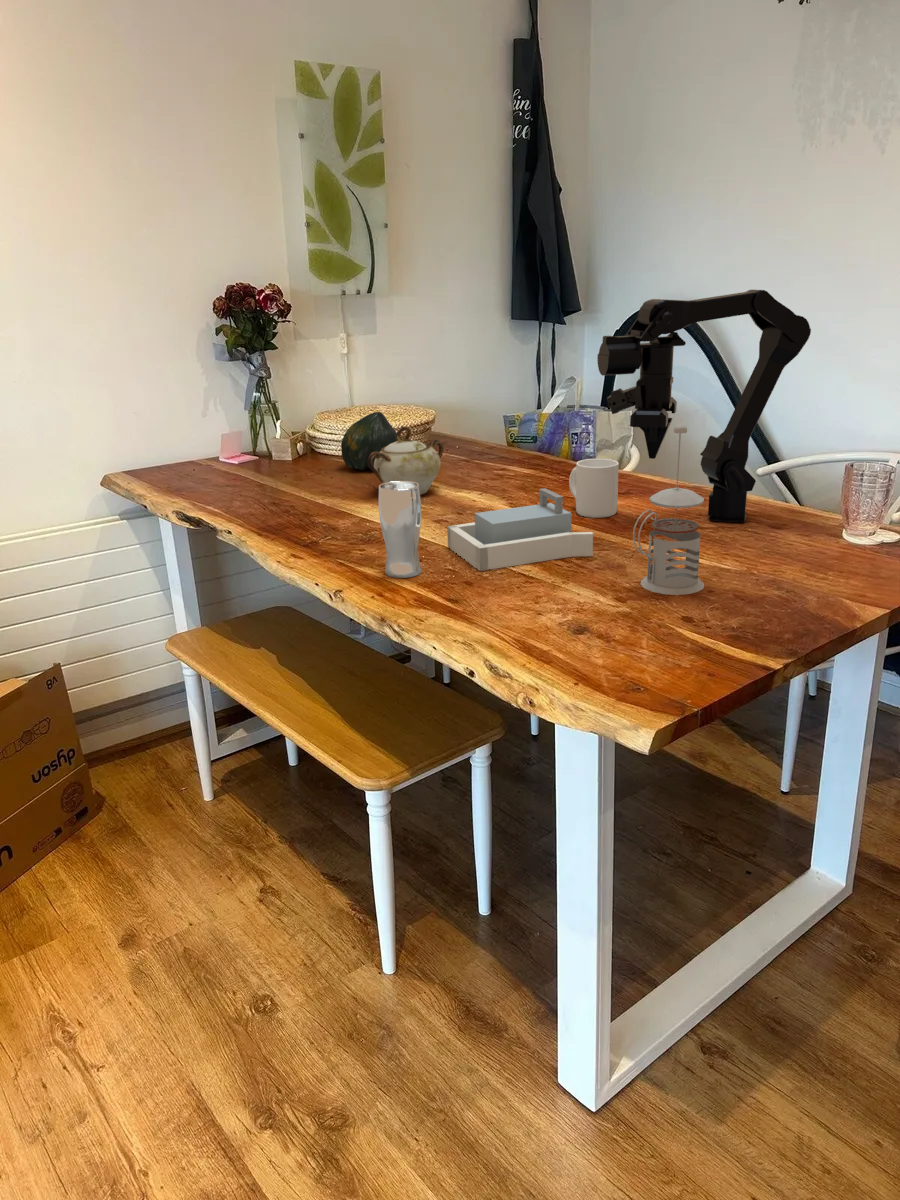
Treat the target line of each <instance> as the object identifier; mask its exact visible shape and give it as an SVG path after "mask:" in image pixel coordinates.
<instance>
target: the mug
mask: <svg viewBox="0 0 900 1200" xmlns="http://www.w3.org/2000/svg"><path fill="white" fill-rule="evenodd" d="M568 485H569V490H570V494H571V495H572V497H574V499H575V510H576V513H577V514H578V516H581V517H583V516H584V518H590V519H603V518H608V517H612V516H614V515H616V514H617V511H618V498H619V497H618V496H619V495H618V492H619V462H618V461H617V460H614V459H609V458H586V459H582V460H578V461H577V462H576V466H575V467H573V469H572V470H571V472H570V475H569V478H568Z"/></svg>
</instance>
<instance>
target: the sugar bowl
mask: <svg viewBox="0 0 900 1200" xmlns="http://www.w3.org/2000/svg"><path fill="white" fill-rule="evenodd" d="M404 431H406V435H404V436H403V437H402V436H401V434H402V432H404ZM396 433H397V438H398V440H397V441H396V442H394V443H391V444H389V445H388V446H386V447H384V448H382V449H381V451H380V452H376V451H375V452H372V453H371V454H370V455H369V457H368V465H369V467H368V469H369V470H371V472H372V473H374V475H375V476H376V477H377V478H378V481H380V482H381V484H382V483H386V482H391V481H412V482H416V483H418V484H419V492H420V496H422V495H424V494H426V493H428V492H429V489H430V487H431V485H432V484H433V482H434V481H435V479H436V477H437V476H438V474H439V471H440V469H441V464H442V463H441V458H442V457H443V454H444V445H443V443H442V442H441V441H440V440H438V439H434V440H430V441H428V442H426V443H424V442H421V441H418V440H413V439H412V440H411V439H410V437H412V431H411V429H410V428H409V427H407V426H401V427H400V428H399V429H398V430H397V431H396ZM436 445H437V446H438V452H437V448H436V447H435V446H436ZM375 457H376V458H375ZM374 458H375V461H374V466H373V459H374Z"/></svg>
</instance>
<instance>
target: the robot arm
mask: <svg viewBox="0 0 900 1200" xmlns="http://www.w3.org/2000/svg"><path fill="white" fill-rule="evenodd" d="M743 315H749V317H750V318H751V320H752V321H753V323H754V325H755V326H756V327H757V328H759V330H761V336H760V339H759V343H758V344H759V346H758V348H759V349H758V359H757V362H756V363H755V366H754V368H753V370H752V372H751V374H750V377H749V378H748V381H747V383H746V385H745V387H744V389H743V392H742V393H741V395H740V398H739V400H738V401H737V404H736V405H735V409H734V410H733V412H732V414H731V417H730V419H729V421H728V422H727V425H726V427H725V429H724V431H723V432H721V433H720V434H719V435H718V436H717V437H716V436H713V435H710V436H709V437H708V439H707V442H706V445H705V447H704V448H703V451H701V452H700V454H699V455H700V456H702V457H701V459H700V460H701V461H700V467H701V469H702V472H703V473H704V475H706V476H707V480H708V482H709V484H711V485H713V487H712V491H710V493H709V496H708V506H707V507H708V510H707V516H708V517H709V521H710V522H724V523H743V524H744V523H745V522H746V517H747V512H746V508H747V500H748V499H747V498H748V497H747V496H748V492H752V491H753V490H754V487H755V485H756V482H757V481H756V479H755V478H754V477H753V476H752V474H750V473H749V472H748V470H746V464H747V462H748V459H749V448H750V447H749V442H750V438H751V437H752V434H753V432H754V430H755V428H756V426H757V424H758V422H759V419H760V417H761V415H762V414H763V412H764V409H765V407H766V406H767V403H768V402H769V399H770V397H771V395H772V394H773V391H774V389H775V386H776V384H777V382H778V381H779V378H780V376H781V375H782V372H783V370H784V369H785V368H786V367H787V365H789V363H791V362H792V361H793V360H794V359H795V358H796V357H797V356H798V355H799V354H800V352H802V349H803V348H804V346H805V345H806V343H808V341H809V339H810V337H811V333H812V329H811V327H810V323H809V321H808V319H807V318H805V317H804V316H802V315H799V314H796V313H795V312H793V311H792V310H791V309H790V308H789V307H787V306H786V305H784V304H782V303H781V302H780V301H778V300H777V299H776V298H775V297H774V296H773V295H772V294H770V293H769V292H768V291H767V290H764V289H748V290H747V291H744V292H743V291H742V292H735V293H729V294H723V295H717V296H711V297H703V298H698V299H697V298H695V299H692V300H691V299H690V300H682V299H681V300H680V299H661V298H660V299H659V298H651V299H648V300H646V301H644V302H643V303H642V305H641V307H640V308H639V311H638V313H637V318H636V320H635V321H634V322H633V324H632V325H631V327H629V330H628V331H627V333H626V334H625V335H621V336H620V335H618V336H614V335H603V336H602V342H601V344H600V347H599V350H598V353H597V357H596V358H597V368H598V372H599V374H600V375H601V376H604V377H605V376H618V375H621V376H622V375H633V374H635V372H636V371H637V370H639V378H638V379H637V381H636V383H635V386H632V387H630V388H627V389H623V388H618V389H616V390H612V391H611V394H610V395H609V396H607V397H606V399H607V407H608V408H610V412H611V414H612V415H615V414H617V413H620V412H621V411H623V410H626V409H629V408H632V407H634V409H635V411H634V412H633V413H632V414H631V415H630V417H629V418H630V421H629V423H630V424H629V426H630V427H631V428H638V429H640V430H641V431H642V432H643V434H644V440H645V443H646V449H647V455H648V458H649V459H656V457H657V455H658V454H659V450H660V448H661V446H662V443H663V442H664V440H665V436H666V435H667V432H668V430H669V428H670V425H671V424H672V421H673V417H669V413H668V412H671V414H676V413H677V406H678V405H677V404H678V403H677V402H678V401H677V400H676V399H675V397H673V396H672V389H673V385H672V384H674V376H673V370H674V369H673V367H674V365H673V364H674V347H682V346H686V343H687V342H686V341H685V340H684V339H683V338H681V337H680V334H679V333H678V332H677V331H680V330H682V329H683V330H684V329H685V328H687V327H688V326H691V325H694V324H696V323H699V322H706V321H713V320H717V319H724V318H726V319H727V318H731V317H737V316H743ZM661 335H665V336H661ZM666 335H667V336H666ZM641 342H643V343H641Z"/></svg>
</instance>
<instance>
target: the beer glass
mask: <svg viewBox="0 0 900 1200" xmlns="http://www.w3.org/2000/svg"><path fill="white" fill-rule="evenodd" d="M421 502H422V501H421V495H420V492H419V484H418V483H416V482H412V481H391V482H386V483H382V482H381V483H380V484H379V485H378V516H379V517H378V518H379V524H380V528H381V533H382V537H383V541H384V545H385V551H386V561H385V562H386V563H385V568H384V570H385V575H386V576H387V577H390V578H393V579H409V578H414V577H418V576H419V575H421V573H422V566H421V563H420V562H421V561H420V558H419V541H420V534H421V533H420V532H421V527H422V503H421Z"/></svg>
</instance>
